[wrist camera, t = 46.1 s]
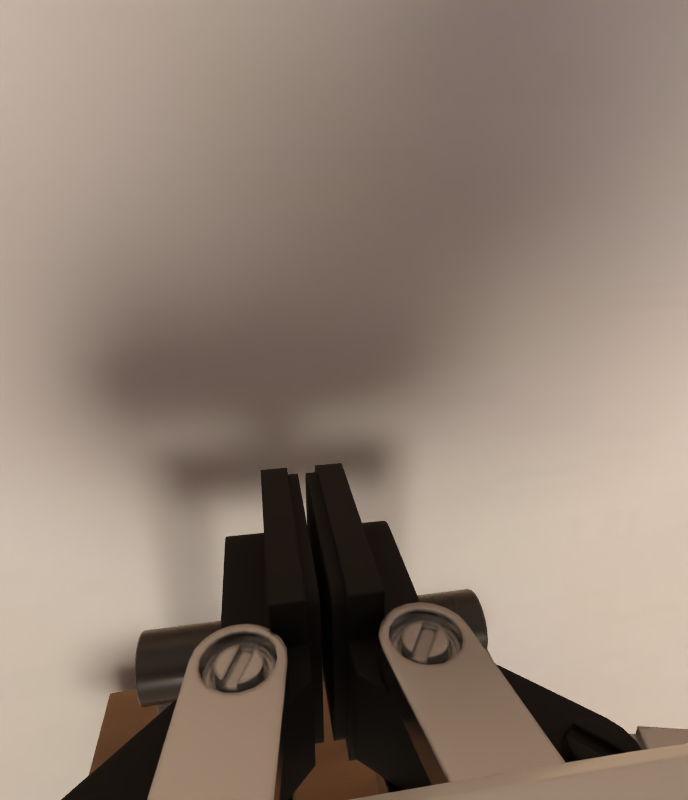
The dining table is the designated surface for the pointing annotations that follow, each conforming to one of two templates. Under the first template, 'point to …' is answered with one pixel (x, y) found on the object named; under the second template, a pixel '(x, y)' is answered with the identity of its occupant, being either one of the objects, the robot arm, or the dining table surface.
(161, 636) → the drawer
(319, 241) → the dining table surface
